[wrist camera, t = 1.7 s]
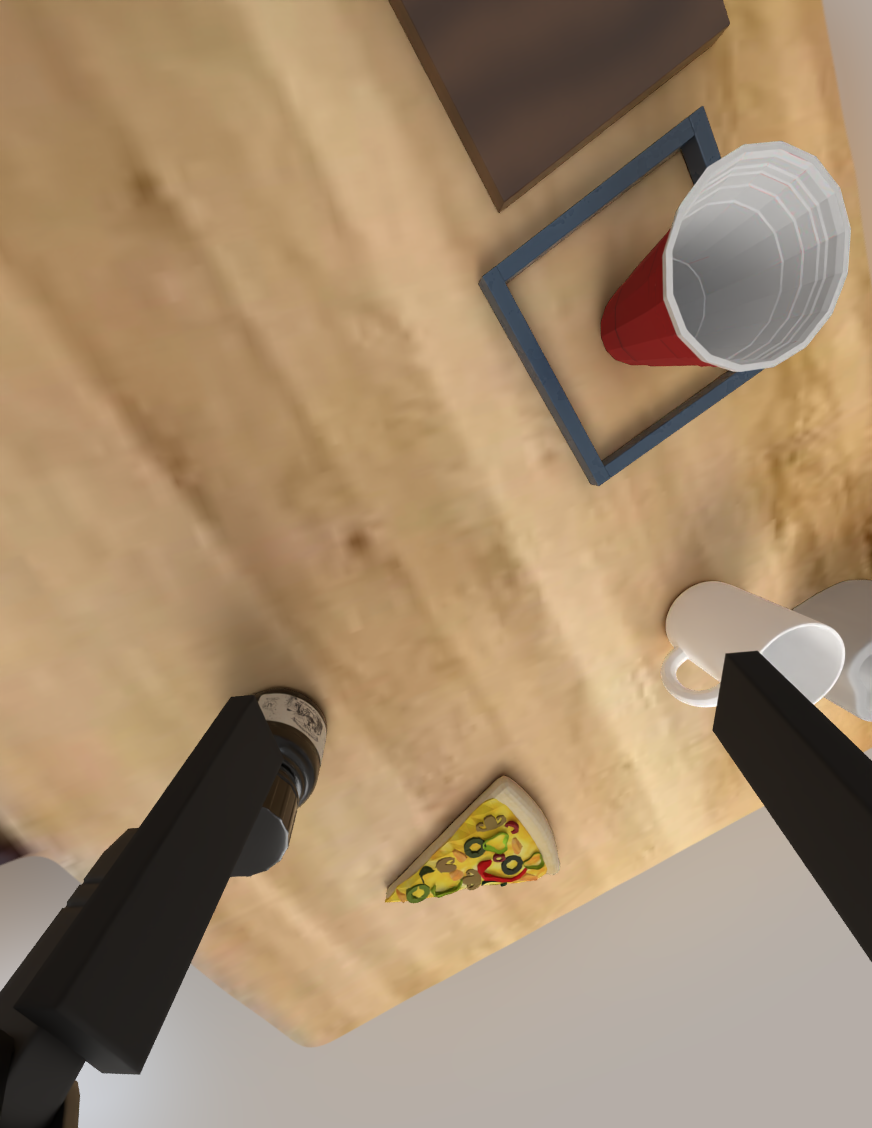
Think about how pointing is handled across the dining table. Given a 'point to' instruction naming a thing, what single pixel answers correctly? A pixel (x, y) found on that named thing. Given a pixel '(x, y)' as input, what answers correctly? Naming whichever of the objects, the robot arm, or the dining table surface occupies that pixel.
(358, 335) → the dining table surface
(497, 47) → the walnut board
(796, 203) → the plastic cup
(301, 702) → the ink bottle
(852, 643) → the egg container
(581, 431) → the square frame
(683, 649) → the mug
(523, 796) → the pizza slice
